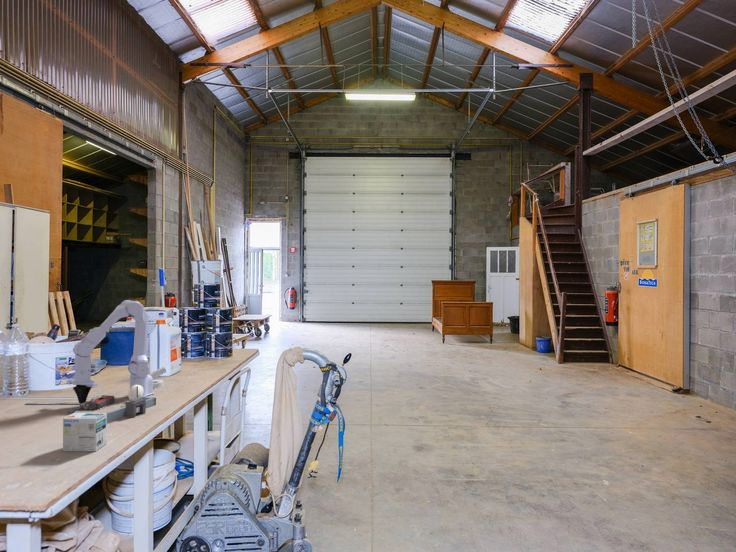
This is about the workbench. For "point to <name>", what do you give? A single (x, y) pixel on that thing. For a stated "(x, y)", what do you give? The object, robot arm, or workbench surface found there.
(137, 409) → the gauge plunger
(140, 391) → the centring jig
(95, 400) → the walkie-talkie
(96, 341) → the robot arm
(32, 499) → the workbench surface
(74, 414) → the light bulb box
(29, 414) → the workbench surface
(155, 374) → the wall hook
